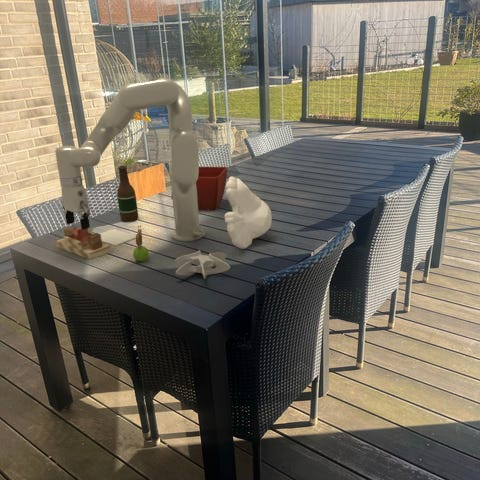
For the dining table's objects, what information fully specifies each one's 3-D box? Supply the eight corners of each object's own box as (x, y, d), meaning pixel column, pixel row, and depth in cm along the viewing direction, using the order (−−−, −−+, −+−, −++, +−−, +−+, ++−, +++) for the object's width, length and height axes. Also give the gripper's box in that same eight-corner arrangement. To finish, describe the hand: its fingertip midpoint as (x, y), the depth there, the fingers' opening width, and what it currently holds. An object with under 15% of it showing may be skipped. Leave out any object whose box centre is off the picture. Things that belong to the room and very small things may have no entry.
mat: (137, 237, 191) (137, 236, 190) (115, 246, 183) (115, 245, 183) (113, 230, 200) (113, 228, 200) (91, 238, 192) (90, 237, 192)
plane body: (111, 251, 178) (108, 232, 175) (90, 259, 172) (87, 240, 169) (78, 239, 191) (74, 222, 189) (57, 246, 185) (54, 228, 182)
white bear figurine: (248, 209, 196) (216, 170, 179) (281, 207, 186) (250, 166, 170) (228, 262, 185) (192, 225, 168) (262, 263, 175) (227, 224, 159)
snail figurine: (151, 256, 173) (147, 224, 168) (148, 263, 167) (144, 231, 162) (135, 256, 172) (131, 225, 168) (132, 264, 166) (128, 232, 162)
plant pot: (220, 213, 214) (218, 176, 208) (179, 212, 218) (176, 176, 212) (229, 200, 232) (227, 166, 225) (192, 200, 236) (189, 166, 229)
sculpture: (219, 288, 147) (218, 269, 144) (162, 280, 154) (160, 262, 152) (240, 265, 162) (239, 248, 159) (188, 258, 169) (186, 242, 167)
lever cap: (94, 243, 180) (92, 227, 178) (83, 247, 177) (80, 231, 174) (82, 239, 185) (79, 223, 183) (71, 243, 181) (68, 227, 179)
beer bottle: (121, 223, 208) (113, 169, 199) (120, 218, 215) (112, 165, 206) (139, 221, 209) (132, 167, 201) (138, 215, 216) (131, 163, 208)
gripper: (94, 182, 169) (100, 227, 175) (67, 175, 180) (74, 218, 186) (75, 186, 164) (82, 233, 170) (48, 179, 174) (56, 224, 181)
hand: (78, 225), depth 178 cm, fingers open, 9 cm apart
